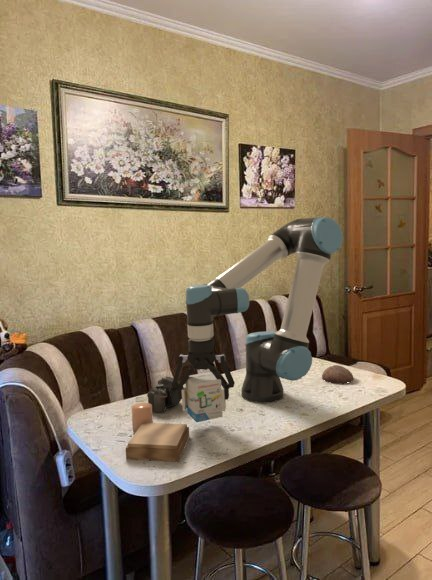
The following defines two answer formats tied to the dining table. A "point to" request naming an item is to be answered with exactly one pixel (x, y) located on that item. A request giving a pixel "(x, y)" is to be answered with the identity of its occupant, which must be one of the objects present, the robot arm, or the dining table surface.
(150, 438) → the stand
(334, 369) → the decorative stone
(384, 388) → the dining table surface
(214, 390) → the ink box
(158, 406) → the camera
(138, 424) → the peach domed cylinder
